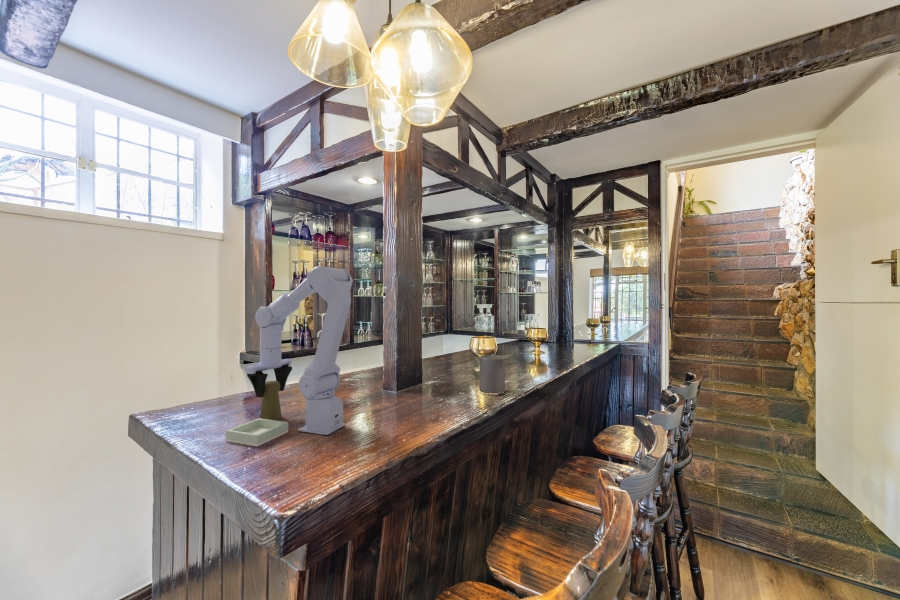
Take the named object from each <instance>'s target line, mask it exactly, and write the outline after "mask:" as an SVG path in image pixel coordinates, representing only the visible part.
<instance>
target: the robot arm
mask: <svg viewBox="0 0 900 600" xmlns="http://www.w3.org/2000/svg"><path fill="white" fill-rule="evenodd" d="M353 282H354V280H353V278H352V276H351V274H350V272H349V271H348V270H347V269H345V268H335V267H328V266H327V267H326V266H321V265H317V266H315V267H313V268H312V269H311V270H310V271H308V272H307V273H306V278H304V279H303V281H302V282H301V283H299V284H298V285H297V287H295V288H294V289H293V290H292V291H291V292H283V293H280V294H279V297H278V298H276V300H274V301H273V302H271V303H269V305H268V306H260V307H259V308H258V309H257V310H256V313H255V317H254V319H255V322H256V324H257V326H258V327H259V361H258V362H257V363H255V364H253V365H252V364H251V365H248V366H247V367H246V368H247V369H246V370H247V371H246V375H247V378H248V380H250V383H251V384H252V387H253V391H254V394H255V397H256V398H261V399H262V397H264V391H265V382H267V378H268V375H269V374H268V373H264V372H266V371H269V370H273V372H274V375H275V381H278V382H279V383H280V390H279V392H284V391H285V387H286V385H287V384H286V383H287V381H288V378H289V376H290V374H291V372H292V371H293V366H292V359H291V358H284V359H283V358H282V339H283V338H282V333H283V332H284V326H285V324H286V322H287V317H289V316H290V315H292V314H293V313H294V312H296V311H297V310H298V309H299V308H300V302H302V301H303V300H305V299H306V298H308V297H309V296H311V295H312V294H315V292H316V293H317V294H318V295H319V296H320V297H321V298H322V299H323V300H325V302H326V304H327V308H326V313H325V317H324V319H323V324H322V328H321V331H320V335H319V339H318V343H317V347H316V350H315V354H314V355H315V356H314V357H313V358H314V359H313V360H312V361H311V362H310V363H309V364H308V365H307V366H306V367H305V368H304V372H303V374H302V375H301V377H299V380H298V391H299V392H300V395H302V397H303V398H304V399H305V417H304V418H305V421H304V423H305V425H304V426H302V427H299V428H297V431H298V432H303V433H310V434H317V435H325V436H328V435H329V434H332V433H334V432H336V431H337V430H339V429H341V428H343V427H344V426H345V425H346V423H344V402H343V400H342V398H340V397H338V396H335V395H334V394H336V390H337V389H338V388H339V386H340V380H341V379H340V373H341V367H340V366H339V365H338V364H337V362H336V361H337V357H338V352H339V350H340V346H341V342H342V338H343V334H344V330H345V328H346V327H345V326H346V323H347V319H348V316H349V312H350V309H351V304H352V296H351V295H352V294H351V289H352V286H353Z"/></svg>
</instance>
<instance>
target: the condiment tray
mask: <svg viewBox="0 0 900 600" xmlns="http://www.w3.org/2000/svg"><path fill="white" fill-rule="evenodd" d="M287 433H289V421H284V420H283V421H281V420H269V419H261V418H259V417H258V418H255V419H253V420H251V421H249V422H248V421H247V422H245V423H242V424H240V425H238V426H235V427H233V428H230V429H227V430H225V442H227V443H234V444H238V443H239V444H240V445H244V444H245V445H246V446H251V447H256V448H257V447H259V446H261V445H264V444H266V443H268V442H270V441H272V440H274V439H276V438H278V437H281V436H283V435H285V434H287ZM239 444H238V445H239Z"/></svg>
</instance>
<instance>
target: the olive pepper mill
mask: <svg viewBox="0 0 900 600" xmlns="http://www.w3.org/2000/svg"><path fill="white" fill-rule="evenodd" d="M279 390H280V383H279V382H278V381H276V380H266V382H265V391H264V397H262V398H261V405H260V411H259V417H258V418H261V419H269V420H276V421H280V420H282V418H283V416H282V410H281V404H280V403H281V402H280V395H279V392H280V391H279Z"/></svg>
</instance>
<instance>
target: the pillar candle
mask: <svg viewBox="0 0 900 600" xmlns="http://www.w3.org/2000/svg"><path fill="white" fill-rule="evenodd" d="M505 361H506V356H504V355H500V354H499V355H498V354H493V352H492V353H491V354H483V355H482V354H481V355H480V356H479V386H478V387H479V388H478V389H479V390H480V391H481V392H484V393H499V392H503V391H504V390H505V389H506V387H505V386H506V384H505V383H506V371H505V370H506V369H505V366H506V362H505Z"/></svg>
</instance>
